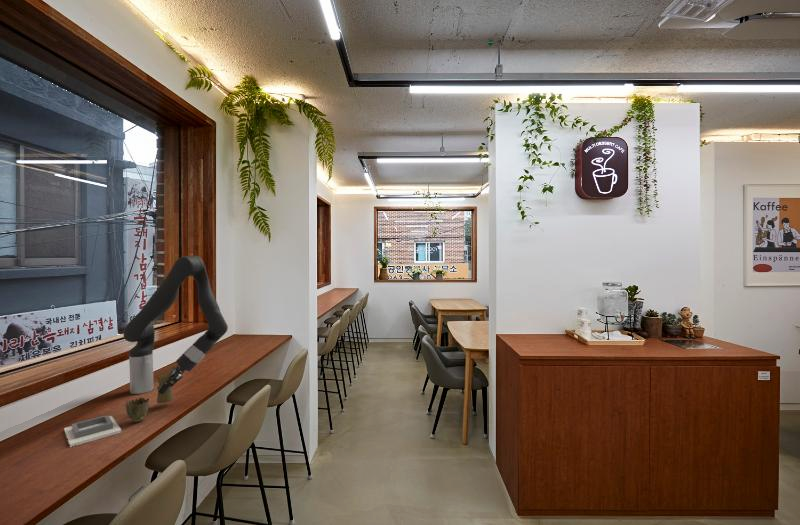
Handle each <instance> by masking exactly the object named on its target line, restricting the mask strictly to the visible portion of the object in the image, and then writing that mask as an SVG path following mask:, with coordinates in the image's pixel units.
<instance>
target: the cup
mask: <svg viewBox="0 0 800 525" xmlns="http://www.w3.org/2000/svg"><path fill="white" fill-rule="evenodd" d="M149 401H150V398H148V397H147V398H146V399H145V397H143V398H142V397H139V398H137V397H136V398H135V400H134V399H131V400H129V401H126V402H125V409H126V414H127V417H128V418H129V419H131V422H132V423H134V424H137V423H140V422H143V421H144V419H145V417H144V416H146V415H147V413H148V411H149V404H150V403H149Z"/></svg>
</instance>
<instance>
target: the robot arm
mask: <svg viewBox="0 0 800 525" xmlns="http://www.w3.org/2000/svg"><path fill="white" fill-rule="evenodd" d="M191 276H192V278H193V279H194V281H195V282H196V287H197V288H196V289H197V301H198V302H197V303H198V306H199V307H200V309H201V310H200V311H201V313H202V315H203V316H204V318H205V319H206V322H207V325H208V327H209V328H207V330H206V331H205V332H204V333H203V334H202V335H201V336H200V337H198V339H196V340H195V342H193V343H192V345H190V346H189V347H188V348H187V349H186V350H185V351H184V352H183V353H182V354H181V355H180V356H179V357H178V358H177V359H176V360H175V362H176V364H177V366H173V367H172V368H171V369H170V371H169V372H168V373H167V374H170V376H169V380H168V381H167V382H166V383H165V384H164V385H163V386H162V387H161V388H160V389H159V390H158V388H159V385H158V386H157V387H156V388H157V393H158V392H159V393H160V394H163V393H164V392H165V391H166V390H167V389H168V388H169V387H171V388H172V387H173V386H174V385H176V383H177V382H179V381H180V380H181V379H182V378H183V375H184V372H185V371H187V372H192V371H193V370H194V368H195V367H196V366H197V365H198V364H199V363H200V362H201V361H202V360H203V358H204V357H205V356H206V354H208V352H209V351H210V350H212V348H213V347H214V345H215V344H216V343H217V342H218V341H219V340H220V339H221V338H222V337H224V335H225V334H226V333H227V331H228V328H229V327H228V324H227V322H226V320H225V318H224V316H223V314H222V312H221V309H220V305H218V302H217V300H216V298H215V295H214V293H213V289H212V288H211V283H210V278H209V276H208V272H207V268H206V265H205V261H204V259H202V257H201V256H199V255H184V256H181V257H179V258H177V259H176V261H175V262H174V263H173V265H172V267H171V269H170V271H169V272H168V274H167V276H166V277H165V278H164V280H162V282H161V283H160V285H159V286H158V288H156V290H155V291H154V292H153V294H152V295H151V296H150V297H149V298H148V301H147V302H145V304H144V305H143V307H142V308H141V310H140V311H138V313H137V314H136V315H135V316H134V317H133V318H132V319H131V320H130V321H129V322H128V323H127V324H126V326H125V327H124V329H123V334H122V335H123V339H125V341H127V342H129V343H135V345H134V346H133V347H131V349H129V351H128V359H129V360H128V361H129V365H128V366H129V387H130V388H129V391H130V392H129V393H130V394H132V395H138V394H145V393H149V392H151V391H153V390H154V388H155V387H154V359H153V358H154V357H153V356H154V355H153V354H154V353H153V350H154V348H155V331H156V330H155V326H154V324H153V323H152V322H153V321H155V320H156V319H158V318H159V317H160V316H162V315H163V314H165V313H166V312H168V310H169V309H171V307H172V305H174V303H175V302H176V301H177V299H178V296H179V288H180V286H181V285H182V283H183V282H184V281H185V280H186V279H187V278H188V277H191Z"/></svg>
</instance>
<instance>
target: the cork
mask: <svg viewBox="0 0 800 525" xmlns="http://www.w3.org/2000/svg"><path fill="white" fill-rule="evenodd" d="M169 376H170V374H168V373H163V374H160V375H159V376H157V378H156V379H157V380H156V381H157V383H158V386H159V388H158V389H157V397H156V398H157V399H156V403H157V404H165V403H170V402H171V401H173V400H174V396H173V390H172V387H169V388H168V389H167V390H166V391H165V392H164V393H163V394H160V393H159V392H158V390H159V389H160V388H161V387H162V386H163V385H164V384H165V383H166V382H167V381H168V380H169Z"/></svg>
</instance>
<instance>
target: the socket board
mask: <svg viewBox="0 0 800 525" xmlns="http://www.w3.org/2000/svg"><path fill="white" fill-rule="evenodd" d="M63 431H64V435H65V437H66V440H67V439H68V440H67V443H68V445H70V446H69V448H73V447H76V446H80V445H83V444H86V443H90V442H93V441H97V440H101V439H104V438H106V437H111V436H115V435H118V434H120V433H122V428H121V427H120V426H119V424H118V423H117V422H116V420H115V419H114V417H113V415H110V416H109V415H108V414H107V415H102V416H99V417H95V418H90V419H86V420H82V421H78V422H75V423H72V424H71V426H67V427H64V430H63ZM75 445H76V446H75ZM72 446H73V447H72Z"/></svg>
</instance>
